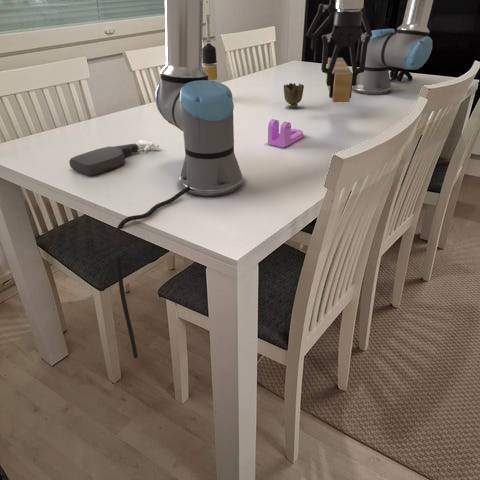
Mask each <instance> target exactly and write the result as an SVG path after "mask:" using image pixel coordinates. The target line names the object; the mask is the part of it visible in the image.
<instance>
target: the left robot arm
mask: <svg viewBox="0 0 480 480" xmlns="http://www.w3.org/2000/svg"><path fill="white" fill-rule="evenodd" d="M363 4H364V5H365V0H336V3H335V8H336V9H337V11H336V12H335V13H334V19H333V27H332V30H331V32H330V33H327V34H323V35H321V40H322V44H323V46H322V56H321V58H322V59H321V68H320V69H321V72H322V73H323V74H326V77H327V82H326V81H325V83H327V84H326V87H328V86H330V90H329V89H328V97H329V99H332V95H333V85H334V73H332V72H333V69H334V66H335V63H336V60H337V58H339V57H338V56H339V53H340V51H341V48H348V49H349V55H350V56H349V57H350V63H351V69H352V70H351V72H352V74H353V76H352V85H351V94H350V99H352V94H353V86H356V82H357V75H358V74H359V73H363V72H364V70H365V62H366V54H367V45H368V43H369V41H370V38H371V37H370V36H369V35H366V34H365V33H364V34H363V33H362V31H363V30H362V31H361V29H362V22H363V21H362V11H361V9H362V8H363ZM164 10H165V11H164V16H165V17H164V18H165V21H164V22H165V65H164V66H163V67H162V68H161V69H159V70H160V71H159V83H158V85H157V86H156V89H155V93H154V102H155V106H156V109H157V111H158V112H159V114H160V115H161V116H162V118H163V120H165V121H167V123H169V124H171V125H172V126H174V127H175V128H177V129H179V130H180V131H181V132H183V143H184V154H185V155H184V158H183V164H182V168H181V171H180V176H179V183H180V184H179V185H180V188H181V189H182V190H180V191H179V192H177V193H175V194H174V195H173V196H172V197H170V198H168V199H166V200H164V201H160V202H158V203H156V204H155V205H153V206H152V207H151V208H150V209H149V210H148V211H147V212H145V213H142V214H134V215H130V216H127V217H125V218H123V219H122V220H121V221H120V222H119V224H118V225H117V226H116V229H117V230H121V229H123V227H124V226H125V225H126V224H127V223H129V222H132V221H138V220H143V219H146V218H148V217H151V215H153V214H154V213H155V212H156V211H157V210H158V209H160V208H162V207H164V206H168V205H169V204H171V203H173V202H175V201H176V200H178V199H179V198H180V197H182V196H183V195H185V194H190V195H194V196H199V197H221V196H224V195H229V194H232V193H234V192H235V191H237V190H239V189H240V188H241V187H242V185H243V174H242V171H241V168H240V165H239V163H238V160H237V157H236V154H235V132H234V131H235V130H234V127H235V126H234V109H235V105H234V100H233V98H234V97H233V93H232V90H231V89H230V88H229V87H228V86H227V85H226V84H224V83H222V82H219V81H215V82H212V81H213V80H212V81H208V72H207V71H206V70H205V69H204V68H203V63H202V61H203V58H202V48H203V29H204V27H203V26H204V25H203V24H204V22H203V20H204V0H164ZM331 38H332V39H333V41H334V44H335V45H334V47H333V48H334V49H333V52H332V55H331V57H330V58H331V61H330V64H329V67H328V68H327V65H328V53H329V43H330V42H331ZM358 39H361V41H362V47H361V54H360V62H359V64H358V62H357V61H356V56H357V52H356V43H358ZM358 65H359V66H358ZM122 267H123V266H122V257H121V256H116V271H117V272H116V273H117V282H118V288H119V294H120V299H121V300H120V301H121V305H122V310H123V313H124V314H123V315H124V319H125V322H126V326H127V331H128V335H129V339H130V345H131V351H132V355H133V359H138V357H139V356H138V351H137V350H138V349H137V345H136V339H135V335H134V330H133V327H132V321H131V317H130V314H129V308H128V304H127V298H126V293H125V286H124V278H123V268H122Z"/></svg>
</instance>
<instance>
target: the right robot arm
mask: <svg viewBox="0 0 480 480" xmlns="http://www.w3.org/2000/svg"><path fill="white" fill-rule="evenodd" d="M335 3H336V0H329V3H328V4H323V3H320V4H319V5H318V9H317V12H316V15H315V17H314V18H313V20H312V22H311V25H310V26H309V28H308V30H307V31H306V37H307V38H309V39H311V47H310V48H311V51H314V53H313V61H314V62H315V63H317V62H318V50H319V49H318V48H319V38H318V37H319V36H320V34H322V32H323V31H324V30H325V29H326V28H327V27H328V25H329V24H330V23H331V22H332V21H334V13H335V12H336V11H337V9H336V8H335ZM433 3H434V0H407V2H406V7H405V11H404V15H403V20H402V24H401V25H400V26H398V27H397V28H396V30H395V29H394V28H382V29H373V30H372V29H371V26H370V23H369V20H368V17H367V14H366V5H365V3H364V4H363V8H362V9H361V11H362V21H361V22H362V24H363V27H364V30H365V32H364V31H363V29H362V28H361V31H362V33H363V34H366V35H369V36H370V37H371V38H370V41H369V43H368V45H367V54H366V62H365V70H364V72H363V73H359V74H358V75H357V82H356V86H352V91H353V92H355V93H358V94H362V95H363V94H364V95H385V94H388V93H390V92H391V90H392V84H391V82H392V81H395V80H397V77H396V78H395V79H394V78H392V79H391V78H390V68H391V67H397V68H399V69H400V68H403V69H407V71H409V70H408V69H411V71H413V70H414V71H416V70H419V69H421V68H422V67H423V66H424V65H425V64H426V62H427V61H428V60H429V58H430V55H431V54H432V51H433V39H432V38H431V37H430V36H429V35H430V30H429V27H428V23H429V19H430V15H431V11H432V7H433ZM326 10H327V11H328V12H329V15H327V17H326V18H325V20H324V21H323V22H322V23H321V25H320V26H319V27H318V28H317V29H316V26H317V25H318V23H319V21H320V20H321V17H322V16H323V13H325V12H326ZM315 29H316V31H315V32H314V30H315ZM313 32H314V33H313ZM361 47H362V41H361V38H359V39H358V41H357V49H356V61H357V63H360V56H361ZM397 76H398V75H397Z"/></svg>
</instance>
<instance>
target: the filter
mask: <svg viewBox="0 0 480 480" xmlns="http://www.w3.org/2000/svg"><path fill="white" fill-rule="evenodd" d="M210 17H211V14H204V18H205V27H206V29H205V30H206V31H205V33H206V39H207V40H206V42H207V43H206V45H204V46H202V66H203V68H204V69H205V70H206V71H207V72H208V81H212V82H216V80H218V64H216V63H218V61H217V48H216V47H215V46H214V45H212V43H210V42H211V40H210V39H211V31H210V29H211V28H210Z"/></svg>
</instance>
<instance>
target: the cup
mask: <svg viewBox="0 0 480 480" xmlns="http://www.w3.org/2000/svg"><path fill="white" fill-rule="evenodd" d="M304 89H305V85H304V84H301V83H298V85H297V84H296V83H295V82H293V83H292V82H290V83H286V84H283V97H284V101H285V102H286V103H287V107H288V108H289V109H297V108H298V106H299V103H300V102H301V101H302V99H303V96H304Z"/></svg>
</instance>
